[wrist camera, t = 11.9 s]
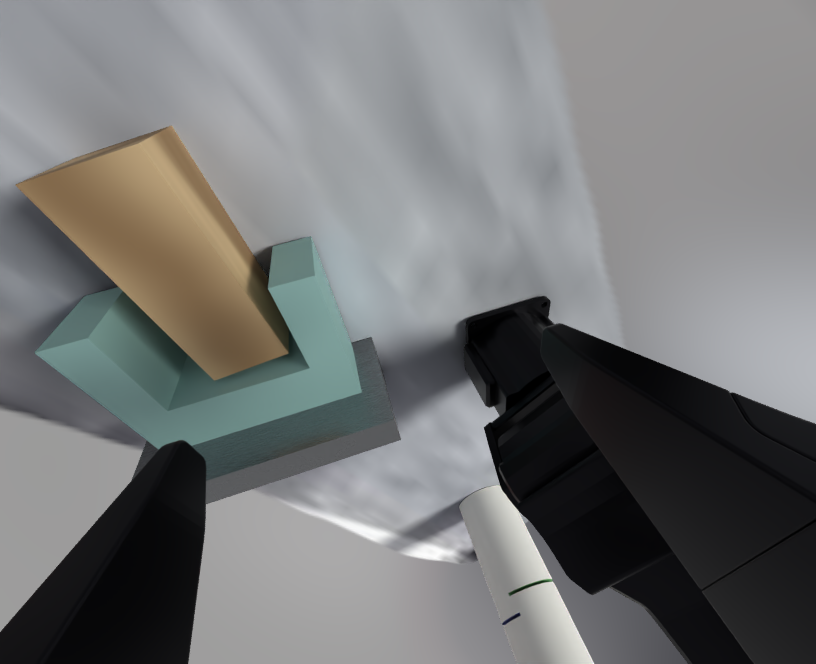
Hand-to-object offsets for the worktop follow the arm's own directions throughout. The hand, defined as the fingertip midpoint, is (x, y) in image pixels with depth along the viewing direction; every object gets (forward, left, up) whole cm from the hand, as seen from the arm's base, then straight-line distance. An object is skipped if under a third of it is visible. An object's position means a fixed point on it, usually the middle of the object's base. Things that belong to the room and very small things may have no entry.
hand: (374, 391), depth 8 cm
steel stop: (+7, +10, -12) cm, 17 cm away
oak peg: (+7, 0, -12) cm, 14 cm away
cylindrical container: (-8, +42, -12) cm, 45 cm away
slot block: (+7, +4, -12) cm, 15 cm away
